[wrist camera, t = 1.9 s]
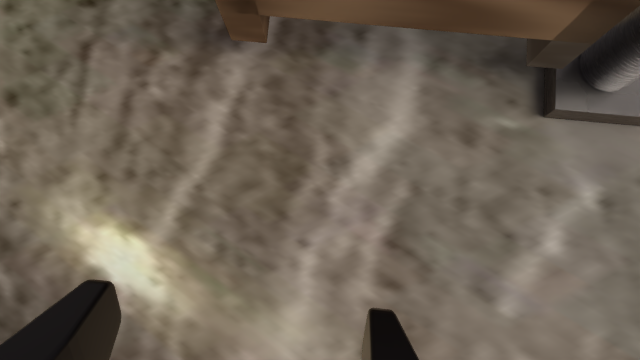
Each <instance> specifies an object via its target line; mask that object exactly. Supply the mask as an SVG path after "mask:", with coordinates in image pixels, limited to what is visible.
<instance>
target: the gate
mask: <svg viewBox="0 0 640 360" xmlns="http://www.w3.org/2000/svg"><path fill="white" fill-rule="evenodd" d="M215 2H216V4H217V6H218V9H219V11H220V13H221V16H222V18H223V21H224V23H225V25H226V28H227V30H228V33H229V35H230V37H231V40H238V41H249V42H261V43H267V35H268V26H269V18H270V16H276V17H287V18H299V19H310V20H322V21H333V22H345V23H357V24H368V25H380V26H391V27H403V28H414V29H426V30H437V31H449V32H460V33H472V34H483V35H495V36H506V37H518V38H527V61H526V66H533V67H545V68H556V69H563V68H564V67H565V66H567V65H568V64H569V63H570V62H571V61H573V60H574V59H575V58H576V57H578V56H579V55H580V54H581V53H582V52H584V51H585V50H586V49H587V48H589V47H590V46H591V45H592V44H593V43H595V42H596V41H597V40H598V39H600V38H601V37H602V36H603V35H604V34H606V33H607V32H608V31H609V30H611V29H612V28H613V27H614V26H615V25H617V24H618V23H619V22H620V21H622V20H623V19H624V18H625V17H626V16H628V15H629V14H630V13H631V12H632V11H634V10H635V9H636V8H637V7H639V6H640V0H215Z"/></svg>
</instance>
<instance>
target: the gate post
mask: <svg viewBox="0 0 640 360" xmlns="http://www.w3.org/2000/svg"><path fill="white" fill-rule="evenodd" d="M544 117H548V118H559V119H570V120H581V121H593V122H604V123H615V124H626V125H637V126H640V6H639V7H637V8H636V9H635V10H634V11H632V12H631V13H630V14H629V15H628V16H626V17H625V18H624V19H623V20H622V21H620V22H619V23H618V24H617V25H615V26H614V27H613V28H612V29H611V30H609V31H608V32H607V33H606V34H604V35H603V36H602V37H601V38H600V39H598V40H597V41H596V42H595V43H593V44H592V45H591V46H590V47H589V48H587V49H586V50H585V51H584V52H582V53H581V54H580V55H579V56H578V57H576V58H575V59H574V60H573V61H571V62H570V63H569V64H568V65H567V66H565V67H564V68H563V69H556V68H545V90H544Z"/></svg>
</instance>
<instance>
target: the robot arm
mask: <svg viewBox="0 0 640 360" xmlns="http://www.w3.org/2000/svg"><path fill="white" fill-rule="evenodd" d="M120 323H121V310H120V306H119V302H118V298H117V294H116V290H115V287H114V285H113V283H112V282H109V281H102V280H87V281H85V282H83V283H82V284H80V285H79V286H78V287H77V288H75V289H74V290H73V291H71V292H70V293H69V294H67V295H66V296H65V297H63V298H62V299H61V300H59V301H58V302H57V303H55V304H54V305H53V306H51V307H50V308H49V309H47V310H46V311H45V312H43V313H42V314H41V315H39V316H38V317H37V318H35V319H34V320H33V321H31V322H30V323H29V324H27V325H26V326H25V327H23V328H22V329H21V330H19V331H18V332H17V333H15V334H14V335H13V336H11V337H10V338H9V339H7V340H6V341H5V342H4V343H2V344H1V345H0V360H109V359H110V355H111V352H112V349H113V346H114V343H115V340H116V337H117V333H118V330H119V327H120ZM362 360H419V359H418V357H417V355H416V353H415V351H414V349H413V347H412V345H411V343H410V341H409V339H408V337H407V336H406V334H405V332H404V330H403V328H402V326H401V324H400V322H399V320H398V318H397V316H396V315H395V313H394V312H393V311H392V310H389V309H379V308H371V309H369V311H368V314H367V320H366V326H365V331H364V337H363V345H362Z"/></svg>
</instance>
